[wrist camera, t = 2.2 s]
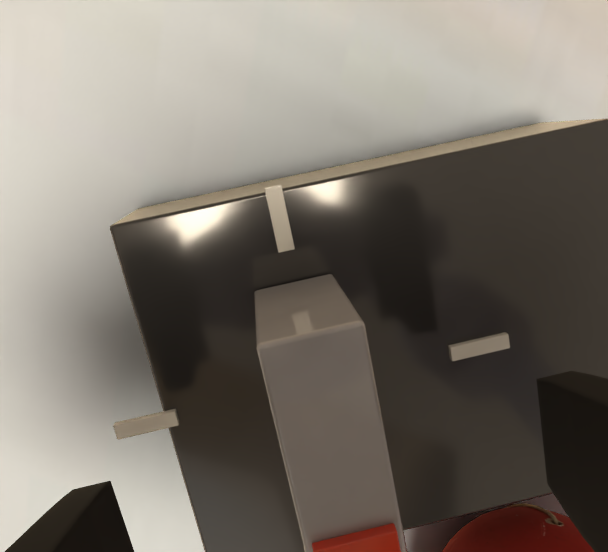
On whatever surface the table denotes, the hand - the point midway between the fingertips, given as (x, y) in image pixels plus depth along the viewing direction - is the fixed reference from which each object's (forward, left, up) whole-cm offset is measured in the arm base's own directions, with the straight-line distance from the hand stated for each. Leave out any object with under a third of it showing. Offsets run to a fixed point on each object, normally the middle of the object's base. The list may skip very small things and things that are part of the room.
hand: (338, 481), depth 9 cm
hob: (-2, 0, -7) cm, 7 cm away
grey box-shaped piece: (0, 0, -4) cm, 4 cm away
